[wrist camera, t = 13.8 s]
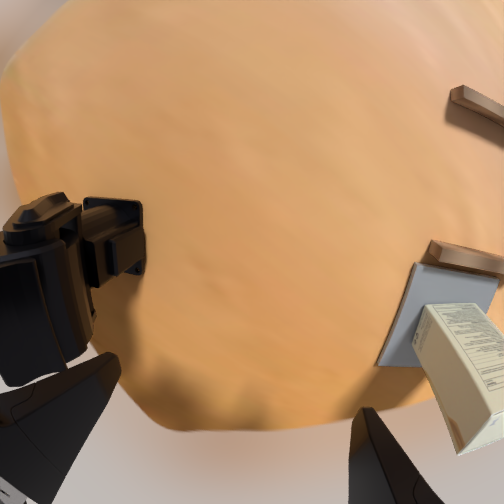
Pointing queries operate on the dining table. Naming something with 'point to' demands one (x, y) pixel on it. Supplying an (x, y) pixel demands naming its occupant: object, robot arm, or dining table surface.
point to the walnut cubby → (455, 252)
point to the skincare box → (464, 371)
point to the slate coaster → (432, 292)
